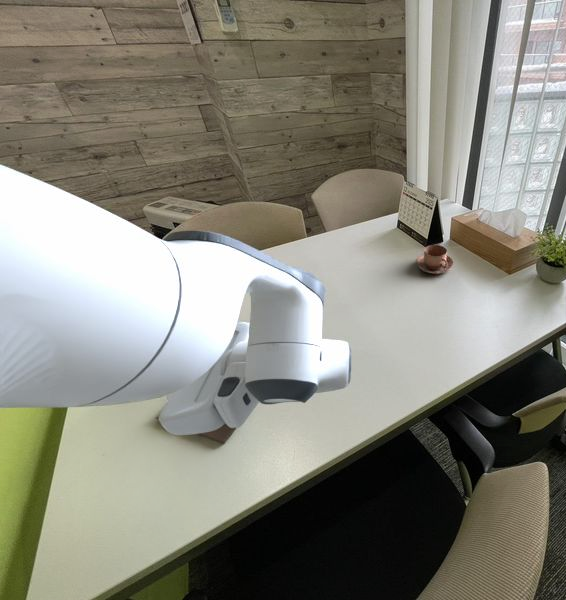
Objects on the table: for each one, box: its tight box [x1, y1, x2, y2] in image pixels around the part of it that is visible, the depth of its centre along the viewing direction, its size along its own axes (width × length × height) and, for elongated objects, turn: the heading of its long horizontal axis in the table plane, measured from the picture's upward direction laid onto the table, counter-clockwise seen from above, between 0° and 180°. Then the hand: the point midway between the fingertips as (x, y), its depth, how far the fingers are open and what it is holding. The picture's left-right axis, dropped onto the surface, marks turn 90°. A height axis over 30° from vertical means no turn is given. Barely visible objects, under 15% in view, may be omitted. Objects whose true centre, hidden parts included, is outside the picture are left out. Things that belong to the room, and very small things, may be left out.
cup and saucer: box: [416, 244, 454, 275], centre depth 106 cm, size 12×12×6 cm
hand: (163, 372), depth 52 cm, fingers closed
